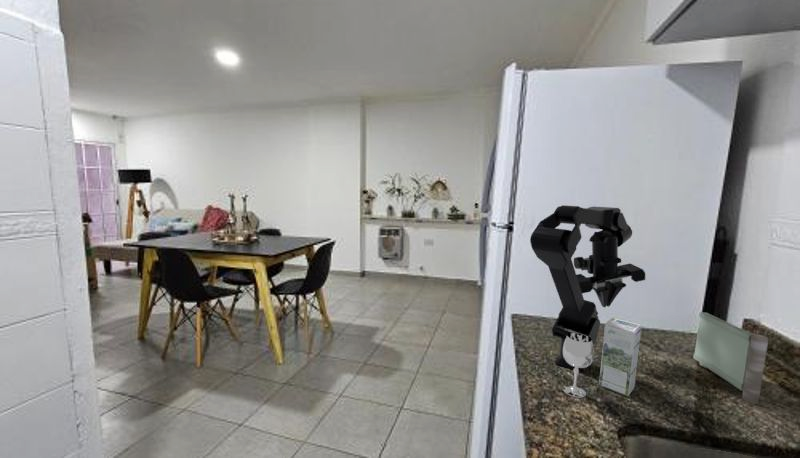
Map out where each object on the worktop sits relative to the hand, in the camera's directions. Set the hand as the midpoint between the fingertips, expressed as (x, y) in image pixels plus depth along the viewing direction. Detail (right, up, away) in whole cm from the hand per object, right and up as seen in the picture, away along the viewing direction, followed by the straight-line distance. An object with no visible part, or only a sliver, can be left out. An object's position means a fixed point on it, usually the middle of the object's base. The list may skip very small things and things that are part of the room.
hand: (605, 306), depth 96 cm
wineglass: (-19, -14, -21) cm, 32 cm away
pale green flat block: (+18, -12, -15) cm, 26 cm away
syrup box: (-9, -14, -19) cm, 25 cm away
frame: (+18, -14, -16) cm, 28 cm away
